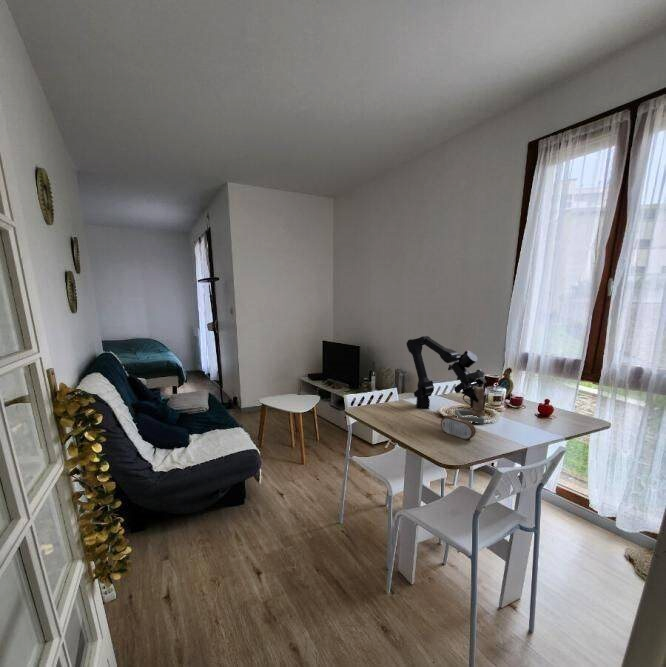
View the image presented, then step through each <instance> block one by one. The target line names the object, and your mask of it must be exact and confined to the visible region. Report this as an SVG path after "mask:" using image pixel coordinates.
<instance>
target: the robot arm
mask: <svg viewBox="0 0 666 667" xmlns="http://www.w3.org/2000/svg"><path fill="white" fill-rule="evenodd" d="M423 346H426V347H427V348H429V349H430V350H432V351H434V352H435V353H436V354H437V355H438V356H439V357H440V359H441V360H442V361H443V362H444V363H446V364H449V365H448V368H447V370H448V371H453V373H454V374H455V376H456V380H457V381H460V382H459V383H458V384H456V386H454V387H453V388H454V390H453V391H454V392H455V393H456V394H459V393H461V394H463V395H466V397H468V398H469V399H470V398H471V399H473V400H474V401H476V402H479V400H478V398H477V396H476V395H475V393H474V387H483V386H484V385H485V384H486V383H487V382H488V381H487V380H486V378H485V377H484V376H485V372H484V371H483V369H481V368H479V369H476V371H475V372H472V371H471V370H468V369H469V368H470V367H472V366H473V365H475V363H476V362H478V358H479V357H477V355H476V354H475V353H474V352H472V351H470V349H469V350H468V349H467V350H465V351H464V352H463V353H462V354H460V353H459V352H457V350H453V349H451V348H447V347H445V346H443V345H441V343H439V342H438V341H435V340H434V339H432V338H431V337H430V336H429V335H424V336H420V337H418V338H410V339H408V340H407V341H406V347H407V350H408V352H409V353H410V354H411V355H412V358H413V362H414V367H415V370H416V375H417V378H418V382H417V389H416V390H415V391H414V392H413V395H414V397H415V398H416V404H415V406H416V408H417V409H421V410H422V409H424V410H429V409H430V406H431V405H430V403H431V402H430V397H431V396H432V394H433V393H434V392H435V390H434V389H435V386H434V383H433V382H434V381H433V380H430V379H429V377H428V375H427V370H426V367H425V366H426V365H425V363H424V358H423V356H422V351H423ZM451 363H452V364H451ZM484 400H485V397H484Z"/></svg>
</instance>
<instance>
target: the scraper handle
mask: <svg viewBox="0 0 666 667" xmlns="http://www.w3.org/2000/svg"><path fill="white" fill-rule="evenodd" d="M484 392H485V388H484V387H483V386H482V387H474V393H475V395H476V396H477V398H478V400H479V402H476V401H474V400H473V408H471V407H470V409H469V410H470V412H471V414H472V415H473V416H482V417H485V416H486V412H485V410H484V411H483V401H484Z"/></svg>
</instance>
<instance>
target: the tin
mask: <svg viewBox="0 0 666 667" xmlns="http://www.w3.org/2000/svg"><path fill="white" fill-rule="evenodd" d="M440 427H441V429H442V431H443V433H446V434H447V435H450V436H453V437H455V438H457V439H458V438H459V439H462V440H464V439H465V441H467V440H470V439H472V438H474V437H475V435H476V428H475V425H474V424H472V423H471V422H469V421H467V420H464V419H461V418H457V417H456V416H453V415H449V414H448V415H445V416H444V417H443V418H442V419H441V420H440Z"/></svg>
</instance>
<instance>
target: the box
mask: <svg viewBox="0 0 666 667" xmlns="http://www.w3.org/2000/svg"><path fill="white" fill-rule="evenodd" d="M454 412H455V413H454V415H455V414H456V415H457V416H458V418H461V419H464V420H467V421H474V422H478V423H480V424H479V425H483V424H485V417H484V416H477V417H478V418H477V417H462V416H461V414H462V415H472V414H471V412H470V409H455V410H454Z"/></svg>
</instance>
